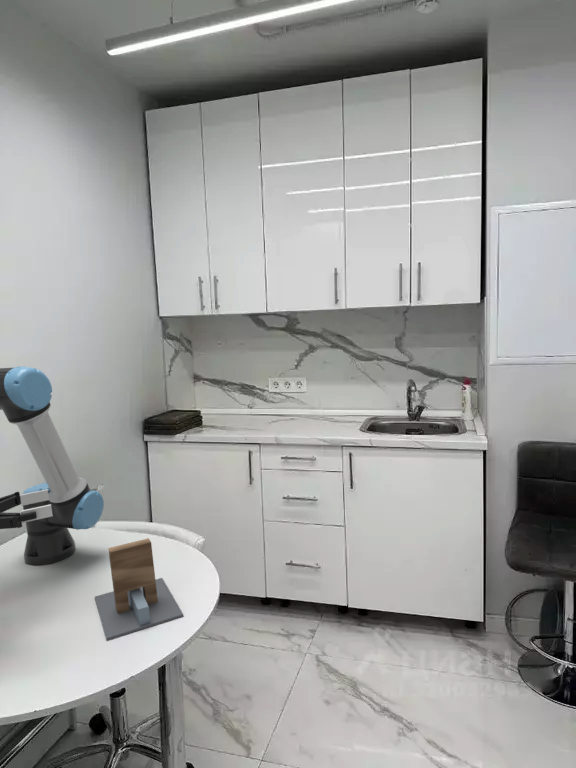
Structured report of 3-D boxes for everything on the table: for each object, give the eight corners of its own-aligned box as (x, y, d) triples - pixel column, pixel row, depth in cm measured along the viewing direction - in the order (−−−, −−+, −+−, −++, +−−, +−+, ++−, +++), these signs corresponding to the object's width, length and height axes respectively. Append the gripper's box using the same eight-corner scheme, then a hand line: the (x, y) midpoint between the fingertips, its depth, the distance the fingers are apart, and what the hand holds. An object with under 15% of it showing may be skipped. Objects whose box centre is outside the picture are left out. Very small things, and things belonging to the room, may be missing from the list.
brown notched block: (115, 608, 138) (108, 548, 136) (155, 596, 142) (148, 538, 140) (117, 613, 135) (110, 552, 133) (157, 601, 139) (151, 542, 137)
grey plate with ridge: (94, 598, 145) (92, 582, 144) (162, 579, 152) (160, 564, 152) (106, 640, 125) (104, 621, 124) (183, 616, 133) (181, 598, 132)
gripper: (-42, 521, 137) (49, 502, 146) (-53, 558, 115) (55, 533, 124) (-47, 492, 136) (45, 475, 145) (-59, 525, 114) (51, 501, 123)
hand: (50, 501), depth 135 cm, fingers open, 13 cm apart
